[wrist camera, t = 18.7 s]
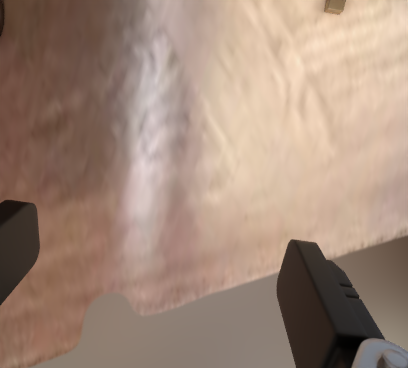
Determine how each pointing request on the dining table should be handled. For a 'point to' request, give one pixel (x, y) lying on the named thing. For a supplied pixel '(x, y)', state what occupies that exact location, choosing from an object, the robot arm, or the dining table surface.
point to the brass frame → (335, 6)
